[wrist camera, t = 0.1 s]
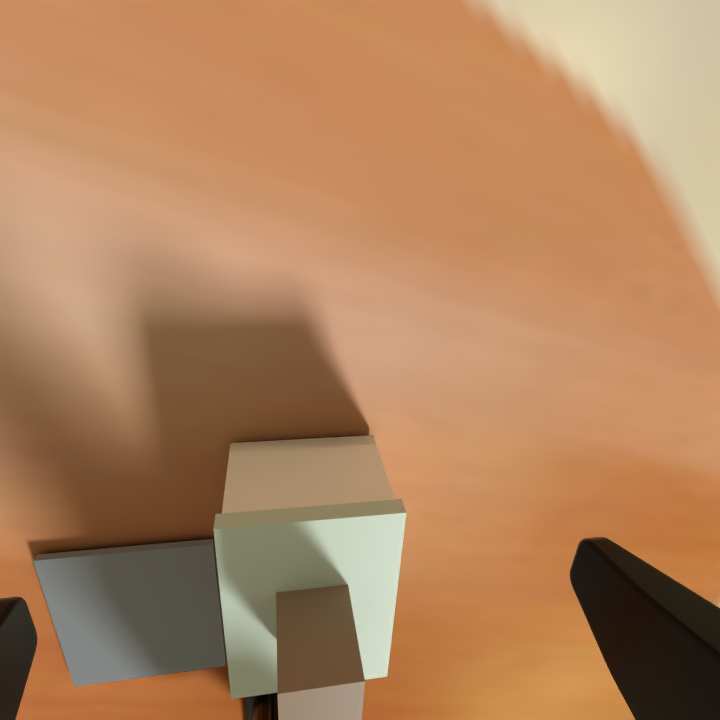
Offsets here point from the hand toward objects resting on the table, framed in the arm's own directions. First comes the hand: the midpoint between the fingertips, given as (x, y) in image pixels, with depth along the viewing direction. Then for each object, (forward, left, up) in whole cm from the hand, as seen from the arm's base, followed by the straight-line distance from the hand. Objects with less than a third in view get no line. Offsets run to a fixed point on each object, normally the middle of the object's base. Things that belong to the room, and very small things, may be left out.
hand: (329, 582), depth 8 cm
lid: (-12, -1, -9) cm, 15 cm away
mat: (-18, +8, -14) cm, 25 cm away
